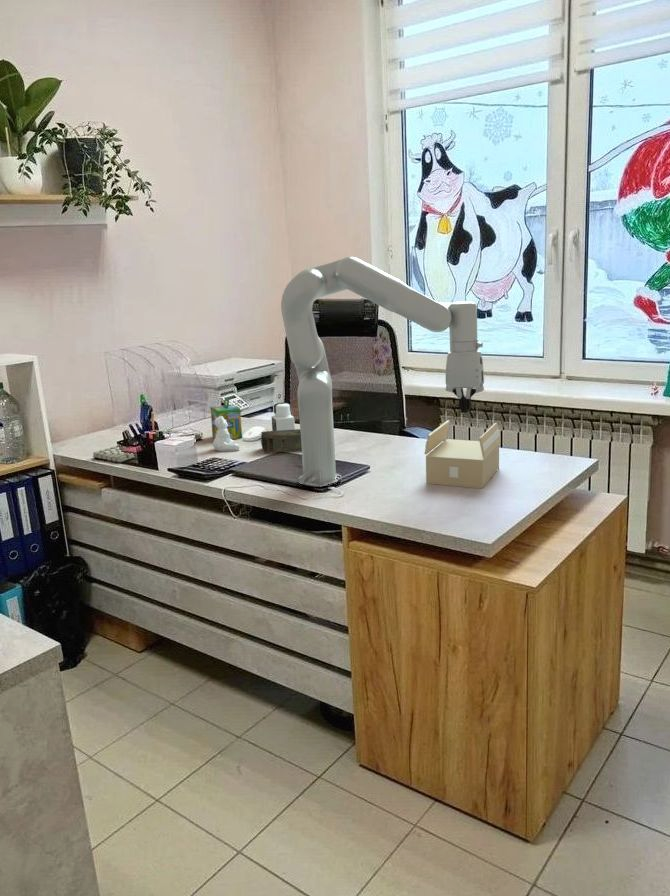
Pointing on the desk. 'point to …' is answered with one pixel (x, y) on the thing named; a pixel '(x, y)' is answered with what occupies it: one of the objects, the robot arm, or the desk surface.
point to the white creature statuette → (223, 437)
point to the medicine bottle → (282, 417)
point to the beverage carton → (281, 441)
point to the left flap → (436, 437)
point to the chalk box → (227, 419)
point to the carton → (461, 464)
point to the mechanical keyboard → (120, 457)
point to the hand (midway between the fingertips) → (465, 411)
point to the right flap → (489, 440)
